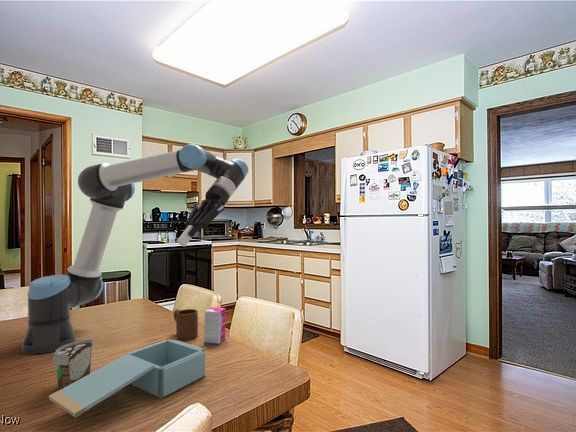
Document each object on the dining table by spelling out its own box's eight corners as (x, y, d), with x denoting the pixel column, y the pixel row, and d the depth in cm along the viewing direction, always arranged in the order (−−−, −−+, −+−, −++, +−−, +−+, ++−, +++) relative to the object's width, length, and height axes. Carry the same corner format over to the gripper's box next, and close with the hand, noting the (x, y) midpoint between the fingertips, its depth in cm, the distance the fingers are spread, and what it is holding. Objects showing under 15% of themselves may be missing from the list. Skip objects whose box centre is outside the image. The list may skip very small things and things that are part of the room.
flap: (125, 354, 88) (48, 395, 73) (153, 365, 81) (74, 413, 66) (126, 357, 88) (49, 399, 73) (154, 368, 81) (75, 417, 67)
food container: (69, 375, 93) (69, 339, 93) (92, 374, 93) (92, 338, 93) (40, 399, 81) (40, 357, 81) (67, 398, 81) (67, 356, 81)
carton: (170, 360, 102) (170, 337, 102) (209, 374, 93) (209, 349, 93) (122, 380, 90) (122, 354, 90) (162, 399, 80) (162, 370, 80)
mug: (165, 335, 125) (165, 310, 125) (183, 329, 131) (183, 305, 131) (184, 342, 117) (184, 315, 117) (202, 336, 123) (202, 311, 123)
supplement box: (219, 345, 115) (219, 311, 115) (203, 344, 116) (203, 311, 116) (226, 339, 120) (226, 307, 121) (210, 338, 122) (210, 306, 122)
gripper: (239, 199, 114) (202, 252, 100) (212, 201, 122) (174, 250, 108) (228, 183, 110) (188, 235, 96) (201, 185, 117) (160, 234, 103)
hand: (181, 243), depth 102 cm, fingers closed
